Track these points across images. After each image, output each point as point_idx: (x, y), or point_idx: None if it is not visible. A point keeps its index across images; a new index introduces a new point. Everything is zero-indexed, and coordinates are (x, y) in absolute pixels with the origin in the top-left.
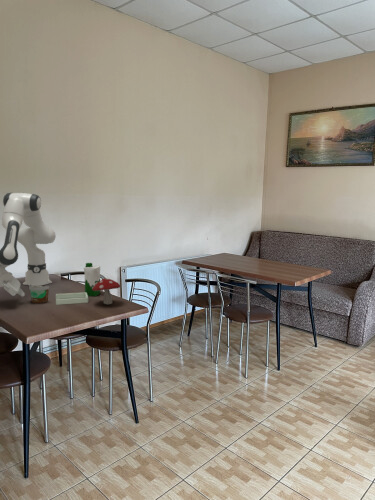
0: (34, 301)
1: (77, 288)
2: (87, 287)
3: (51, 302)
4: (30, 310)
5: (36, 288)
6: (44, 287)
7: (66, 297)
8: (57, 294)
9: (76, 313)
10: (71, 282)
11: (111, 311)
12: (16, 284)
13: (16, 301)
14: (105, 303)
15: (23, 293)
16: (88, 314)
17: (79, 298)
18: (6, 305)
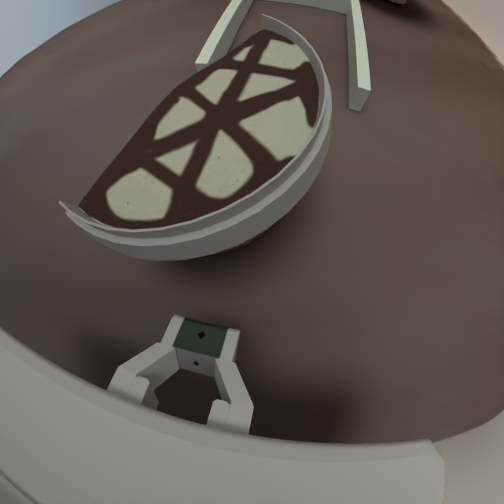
0: (260, 233)
1: (87, 30)
2: None
3: None
4: (438, 295)
5: (320, 150)
6: (314, 60)
7: (230, 40)
8: (211, 55)
9: (494, 108)
10: (12, 70)
11: (463, 35)
12: (119, 472)
13: None
14: (403, 2)
15: (234, 348)
16: (497, 88)
17: (360, 13)
18: None
